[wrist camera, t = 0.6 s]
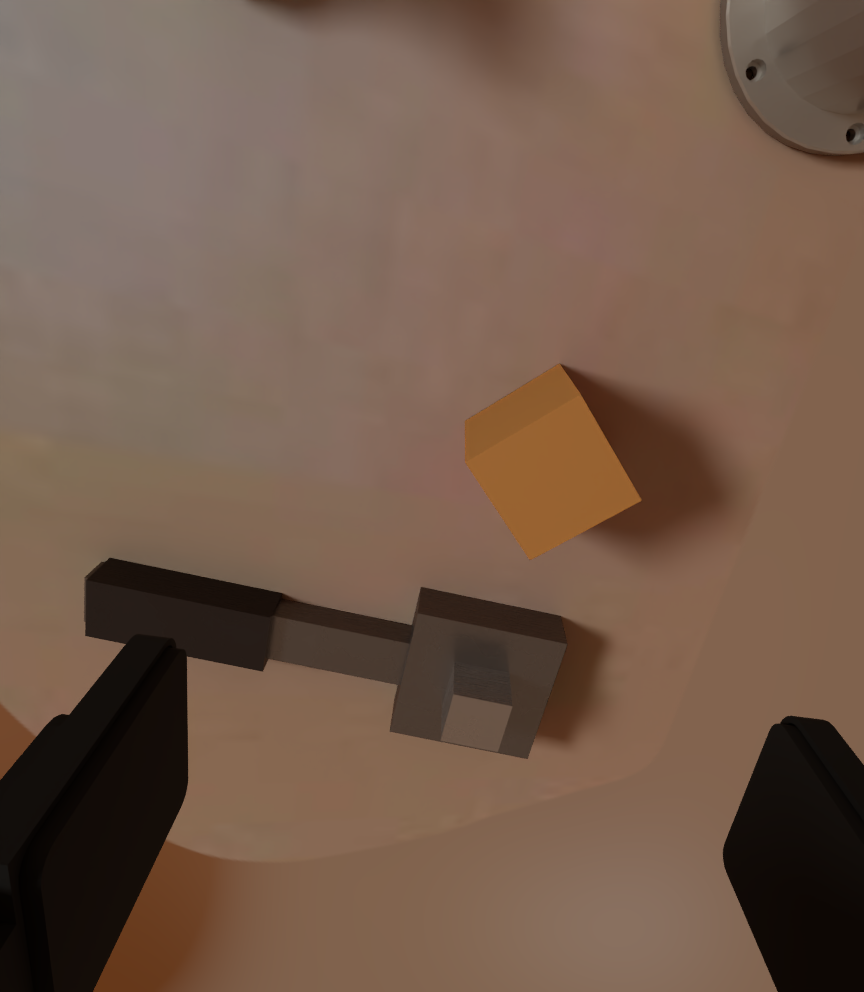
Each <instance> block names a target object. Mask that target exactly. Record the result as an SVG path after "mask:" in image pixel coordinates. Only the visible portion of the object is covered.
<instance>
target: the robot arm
mask: <svg viewBox="0 0 864 992" xmlns="http://www.w3.org/2000/svg"><path fill="white" fill-rule="evenodd" d="M720 41H721V47H722V54H723V60H724V66H725V69H726V71H727V74H728V77H729V80H730V82H731V85H732V88H733V91H734V93H735V95H736V96H737V98H738V99H739V101H740V103H741V104H742V106H743V107H744V109H745V111H746V112H747V114H748V115H749V116H750V117H751V118H752V119H753V120H754V121H755V122H756V123H757V124H758V125H759V126H760V127H761V128H762V129H763V130H764V131H765V132H766V133H767V134H769V135H771V136H772V137H774V138H775V139H777V140H779V141H780V142H782V143H784V144H785V145H787V146H790V147H793V148H796V149H799V150H802V151H805V152H808V153H812V154H823V155H833V156H838V155H847V154H856V153H864V0H721V2H720ZM747 68H749V69H751V70H752V71H753V77H752V79H751V80H748V78H747V77H746V69H747ZM847 130H848V131H849V132H850V138H849V140H848V141H847V140H846V133H847ZM187 785H188V724H187V655H186V651H185V650H184V649H178V648H176V643H175V640H174V639H172V638H166V637H158V636H151V635H143V634H136V635H134V636H133V637H132V638H131V639H130V640H129V641H128V642H127V644H126V645H125V646H124V647H123V649H122V650H121V651H120V652H119V654H118V655H117V656H116V657H115V659H114V660H113V661H112V662H111V664H110V665H109V666H108V667H107V669H106V670H105V671H104V672H103V674H102V675H101V676H100V677H99V678H98V680H97V681H96V682H95V683H94V685H93V686H92V687H91V688H90V690H89V691H88V692H87V693H86V695H85V696H84V697H83V698H82V700H81V701H80V702H79V703H78V705H77V706H76V707H75V708H74V710H73V711H72V712H71V713H70V715H65V714H61V715H58V716H56V717H54V718H53V719H52V720H51V721H50V722H49V723H48V724H47V725H46V726H45V727H44V728H43V730H42V731H41V732H40V733H39V734H38V736H37V737H36V738H35V739H34V740H33V742H32V743H31V744H30V745H29V747H28V748H27V749H26V750H25V751H24V753H23V754H22V755H21V756H20V757H19V758H18V760H17V761H16V762H15V763H14V764H13V766H12V767H11V768H10V769H9V770H8V772H7V773H6V774H5V775H4V776H3V778H2V779H1V780H0V992H93V990H94V988H95V986H96V984H97V982H98V980H99V977H100V975H101V973H102V971H103V969H104V967H105V965H106V963H107V961H108V959H109V957H110V954H111V952H112V950H113V948H114V946H115V944H116V942H117V940H118V938H119V936H120V933H121V932H122V929H123V927H124V925H125V923H126V921H127V919H128V917H129V915H130V913H131V911H132V909H133V906H134V904H135V902H136V900H137V898H138V896H139V894H140V892H141V890H142V888H143V885H144V883H145V881H146V879H147V877H148V875H149V873H150V871H151V869H152V867H153V865H154V862H155V860H156V858H157V856H158V854H159V852H160V850H161V848H162V846H163V844H164V842H165V839H166V837H167V835H168V833H169V831H170V829H171V827H172V825H173V823H174V821H175V819H176V816H177V814H178V812H179V810H180V808H181V806H182V804H183V801H184V798H185V795H186V790H187ZM723 860H724V866H725V869H726V872H727V875H728V877H729V879H730V882H731V884H732V886H733V888H734V891H735V893H736V896H737V898H738V900H739V903H740V905H741V907H742V910H743V912H744V914H745V917H746V919H747V921H748V924H749V926H750V928H751V931H752V933H753V935H754V938H755V940H756V942H757V945H758V947H759V949H760V951H761V954H762V956H763V958H764V961H765V963H766V966H767V968H768V970H769V972H770V975H771V977H772V980H773V982H774V984H775V987H776V989H777V991H778V992H864V765H863V764H862V762H861V761H860V760H859V758H858V757H857V756H856V755H855V753H854V752H853V751H852V750H851V748H850V747H849V745H848V744H847V743H846V742H845V740H844V739H843V738H842V737H841V735H840V734H839V733H838V731H837V730H836V729H835V727H834V726H833V725H832V724H830V723H829V722H828V721H825V720H820V719H812V718H803V717H796V716H787V717H785V718H784V719H783V720H782V721H781V723H780V724H774V725H773V726H772V727H771V729H770V731H769V733H768V736H767V738H766V741H765V744H764V746H763V748H762V751H761V753H760V756H759V759H758V761H757V763H756V766H755V768H754V771H753V774H752V776H751V778H750V781H749V783H748V786H747V788H746V791H745V793H744V796H743V799H742V801H741V804H740V806H739V809H738V812H737V814H736V816H735V819H734V821H733V824H732V826H731V829H730V831H729V834H728V836H727V839H726V841H725V844H724V848H723Z"/></svg>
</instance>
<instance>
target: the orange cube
mask: <svg viewBox="0 0 864 992" xmlns="http://www.w3.org/2000/svg"><path fill="white" fill-rule="evenodd" d="M465 463H466V464H467V466H468V467H469V469H470V470H471V472H472V473H473V475H474V476H475V478H476V479H477V481H478V482H479V484H480V486H481V487H482V489H483V490H484V492H485V493H486V495H487V496H488V498H489V499H490V501H491V502H492V504H493V505H494V507H495V508H496V510H497V511H498V513H499V514H500V516H501V517H502V519H503V520H504V522H505V523H506V525H507V526H508V528H509V529H510V531H511V532H512V534H513V535H514V537H515V538H516V540H517V541H518V543H519V544H520V546H521V547H522V549H523V550H524V552H525V553H526V555H527V556H528V558H529V560H531V559H533V558H535V557H537V556H539V555H541V554H543V553H545V552H546V551H548V550H550V549H552V548H554V547H556V546H558V545H560V544H561V543H563V542H565V541H567V540H569V539H571V538H573V537H575V536H576V535H578V534H580V533H582V532H584V531H586V530H588V529H590V528H591V527H593V526H595V525H597V524H599V523H601V522H603V521H605V520H606V519H608V518H610V517H612V516H614V515H616V514H618V513H620V512H621V511H623V510H625V509H627V508H629V507H631V506H633V505H634V504H636V503H638V502H640V501H642V500H641V498H640V496H639V495H638V493H637V491H636V489H635V488H634V486H633V484H632V483H631V481H630V479H629V477H628V476H627V474H626V472H625V470H624V469H623V467H622V465H621V463H620V462H619V460H618V458H617V456H616V455H615V453H614V451H613V449H612V448H611V446H610V444H609V443H608V441H607V439H606V437H605V436H604V434H603V432H602V430H601V429H600V427H599V425H598V423H597V422H596V420H595V418H594V416H593V415H592V413H591V411H590V410H589V408H588V406H587V404H586V403H585V401H584V399H583V397H582V396H581V394H580V392H579V391H578V390H577V388H576V387H575V385H574V384H573V382H572V381H571V379H570V378H569V377H568V375H567V374H566V372H565V371H564V369H563V368H562V366H561V365H560V364H558V365H556V366H555V367H553V368H551V369H550V370H548V371H546V372H545V373H543V374H541V375H540V376H538V377H537V378H535V379H533V380H532V381H530V382H528V383H527V384H525V385H523V386H522V387H520V388H518V389H517V390H515V391H514V392H512V393H510V394H509V395H507V396H505V397H504V398H502V399H500V400H499V401H497V402H495V403H494V404H492V405H491V406H489V407H487V408H486V409H484V410H482V411H481V412H479V413H477V414H476V415H474V416H472V417H471V418H469V419H468V420H466V421H465Z"/></svg>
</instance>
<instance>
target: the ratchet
mask: <svg viewBox="0 0 864 992" xmlns="http://www.w3.org/2000/svg"><path fill="white" fill-rule="evenodd" d="M281 598H282V593H277V592H273V591H268V590H263V589H258V588H253V587H248V586H243V585H239V584H234V583H229V582H224V581H219V580H214V579H209V578H205V577H200V576H195V575H190V574H185V573H180V572H175V571H171V570H166V569H161V568H156V567H151V566H146V565H141V564H137V563H132V562H127V561H122V560H117V559H112V558H109V559H108V560H107V561H106V562H101V563H100V564H99V565H98V566H96V567H95V568H94V569H93V570H92V571H91V572H90V573H89V574H88V575H87V576H86V577H85V598H84V622H86V630H85V636H89V637H94V638H99V639H104V640H109V641H114V642H119V643H124V644H127V642H128V641H129V640H130V639H131V638H132V637H133V636H134V635H136V634H143V635H151V636H158V637H166V638H172V639H174V640H175V643H176V648H178V649H184V650H185V651H186V655H187V656H188V657H193V658H198V659H203V660H208V661H213V662H218V663H223V664H228V665H233V666H238V667H243V668H248V669H253V670H258V671H263V670H264V668H265V665H266V663H267V661H268V659H273V660H277V661H282V662H287V663H292V664H297V665H302V666H307V667H312V668H317V669H322V670H327V671H332V672H337V673H342V674H347V675H352V676H357V677H362V678H367V679H372V680H377V681H382V682H386V683H391V684H396V685H398V687H397V691H396V695H395V699H394V706H393V713H392V719H391V726H390V732H395V733H400V734H405V735H410V736H415V737H420V738H425V739H430V740H435V741H440V742H445V743H450V744H455V745H460V746H465V747H470V748H475V749H480V750H485V751H490V752H495V753H500V754H505V755H510V756H515V757H520V758H525V759H528V756H529V753H530V750H531V747H532V744H533V742H534V739H535V736H536V733H537V730H538V727H539V724H540V722H541V719H542V716H543V713H544V710H545V707H546V704H547V702H548V699H549V696H550V693H551V690H552V687H553V684H554V681H555V679H556V676H557V673H558V670H559V667H560V664H561V661H562V659H563V656H564V653H565V650H566V647H567V640H566V636H565V632H564V628H563V624H562V620H561V616H557V615H552V614H547V613H542V612H538V611H533V610H528V609H523V608H518V607H514V606H509V605H504V604H499V603H494V602H490V601H485V600H480V599H475V598H470V597H466V596H461V595H456V594H451V593H446V592H441V591H437V590H432V589H427V588H422V587H421V589H420V594H419V598H418V602H417V606H416V611H415V615H414V619H413V623H412V626H411V625H407V624H402V623H397V622H392V621H387V620H382V619H377V618H373V617H368V616H363V615H358V614H353V613H348V612H343V611H338V610H334V609H329V608H324V607H319V606H314V605H309V604H304V603H300V602H295V601H290V600H285V599H281Z"/></svg>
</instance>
